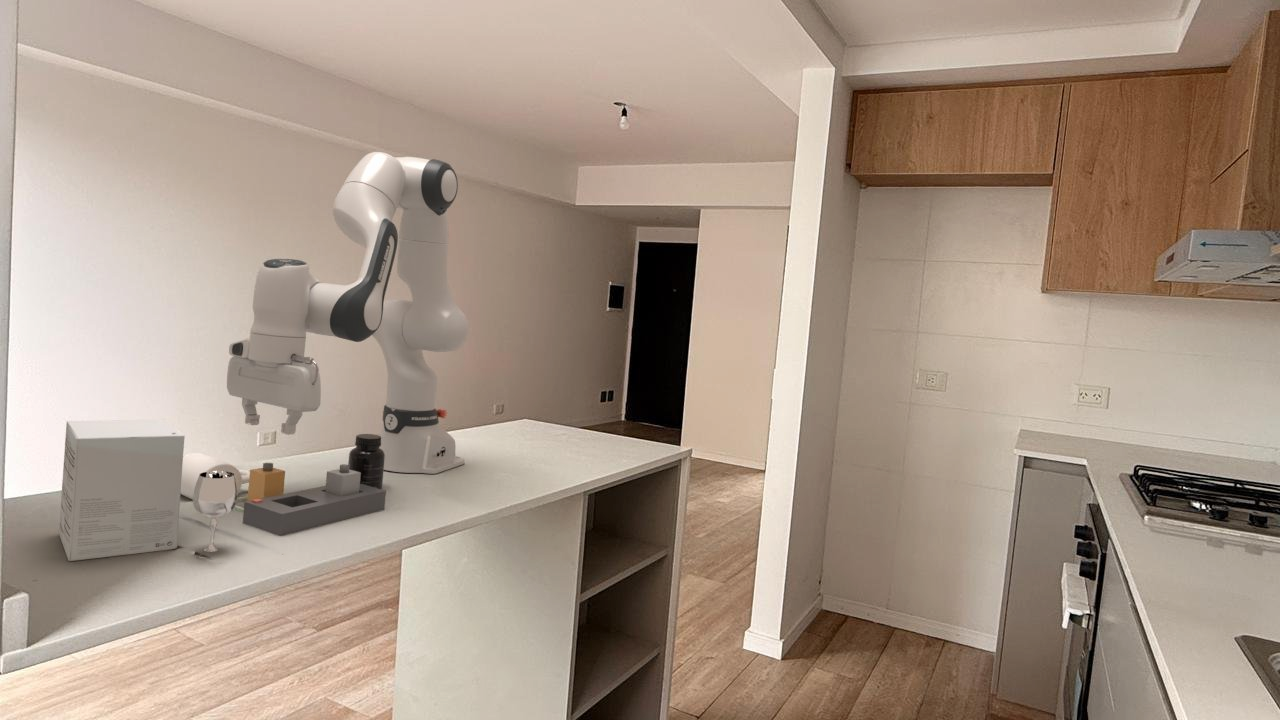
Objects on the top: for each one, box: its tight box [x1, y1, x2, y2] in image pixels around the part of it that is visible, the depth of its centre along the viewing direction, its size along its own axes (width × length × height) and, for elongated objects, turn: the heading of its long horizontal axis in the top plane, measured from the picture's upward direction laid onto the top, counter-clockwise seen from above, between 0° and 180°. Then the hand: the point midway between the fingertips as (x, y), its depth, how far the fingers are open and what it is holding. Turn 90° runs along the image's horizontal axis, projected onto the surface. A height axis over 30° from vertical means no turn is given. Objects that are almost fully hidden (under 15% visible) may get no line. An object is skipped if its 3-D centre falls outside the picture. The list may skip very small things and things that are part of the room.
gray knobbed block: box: [325, 463, 361, 497], centre depth 136 cm, size 4×4×8 cm
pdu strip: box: [242, 484, 387, 537], centre depth 132 cm, size 22×9×5 cm, turn 154°
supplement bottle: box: [347, 433, 385, 490], centre depth 152 cm, size 7×7×12 cm
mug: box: [180, 452, 250, 501], centre depth 139 cm, size 12×10×8 cm
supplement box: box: [58, 418, 186, 562], centre depth 113 cm, size 13×13×18 cm
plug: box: [247, 462, 286, 501], centre depth 134 cm, size 4×4×8 cm
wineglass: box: [192, 471, 238, 559], centre depth 113 cm, size 6×6×12 cm
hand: (269, 429), depth 133 cm, fingers open, 8 cm apart
